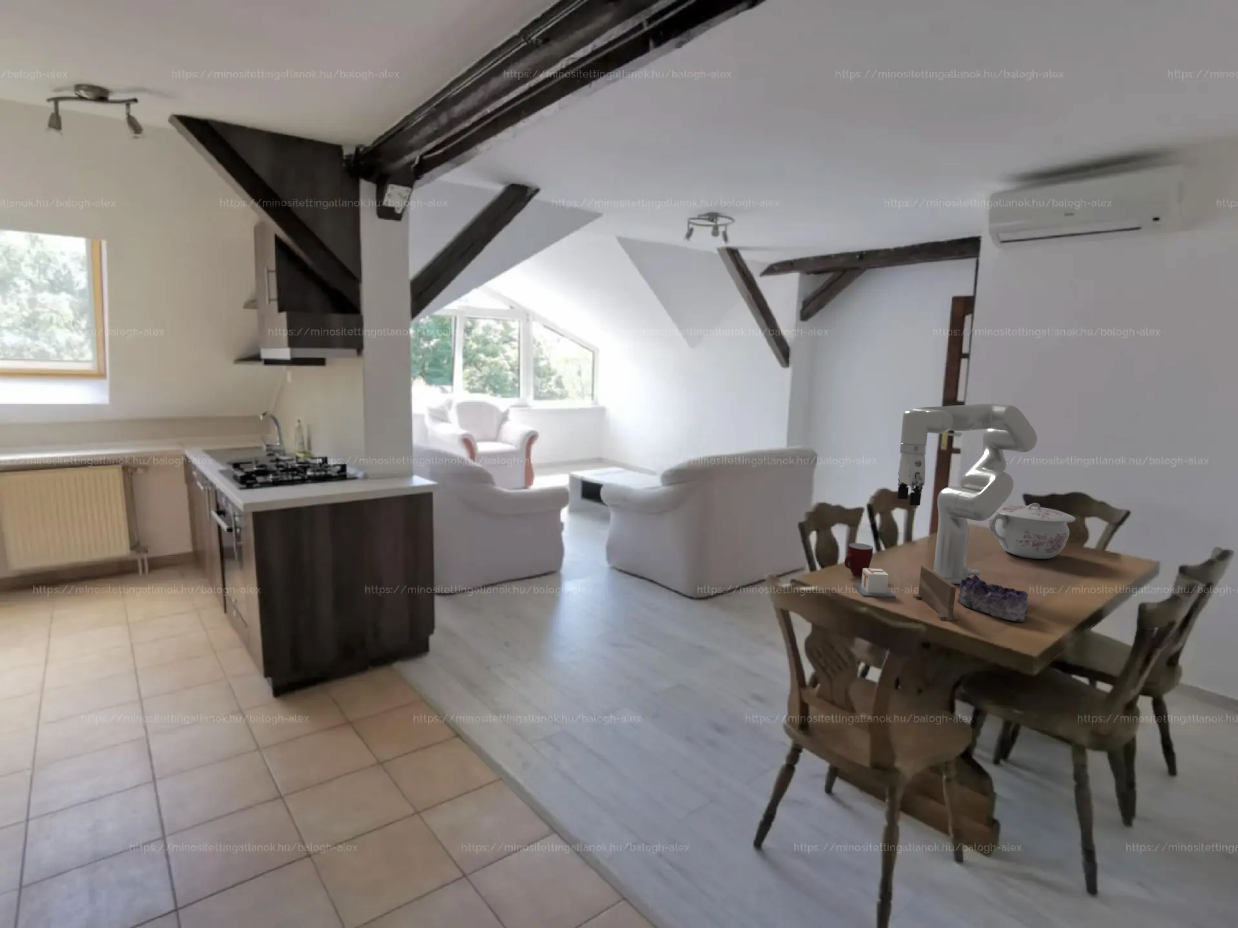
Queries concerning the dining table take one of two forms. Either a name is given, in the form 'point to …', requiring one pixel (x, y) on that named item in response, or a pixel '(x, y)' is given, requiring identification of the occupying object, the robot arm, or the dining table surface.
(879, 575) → the cube
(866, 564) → the mug
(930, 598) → the screen
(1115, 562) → the dining table surface
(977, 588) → the geode
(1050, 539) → the chamber pot
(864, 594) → the tile
